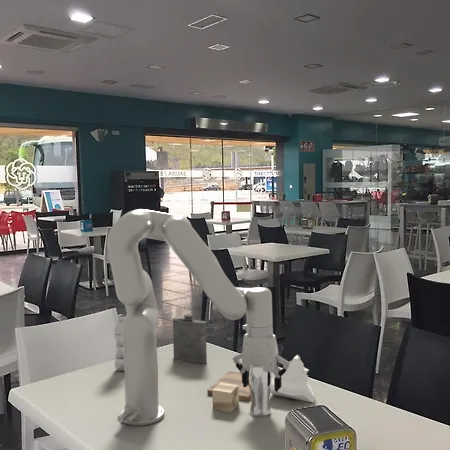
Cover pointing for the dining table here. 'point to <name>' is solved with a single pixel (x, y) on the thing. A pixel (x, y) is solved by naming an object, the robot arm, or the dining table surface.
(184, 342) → the flask
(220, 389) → the beech block
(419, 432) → the dining table surface
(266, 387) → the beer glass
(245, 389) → the serving board
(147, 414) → the robot arm
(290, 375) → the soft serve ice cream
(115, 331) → the plastic bottle
